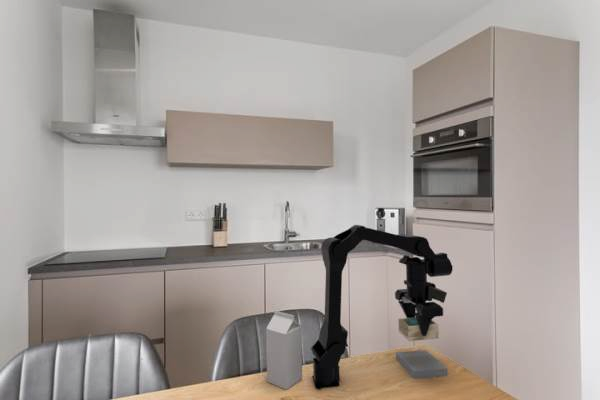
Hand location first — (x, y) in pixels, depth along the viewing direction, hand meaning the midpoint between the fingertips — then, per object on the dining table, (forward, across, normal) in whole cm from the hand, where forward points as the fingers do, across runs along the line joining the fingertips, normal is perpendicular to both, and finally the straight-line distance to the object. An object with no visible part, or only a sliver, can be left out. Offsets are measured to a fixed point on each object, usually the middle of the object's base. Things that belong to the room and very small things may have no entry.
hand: (418, 330), depth 101 cm
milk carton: (+11, 0, +40) cm, 41 cm away
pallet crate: (+1, 0, 0) cm, 1 cm away
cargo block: (0, 0, 0) cm, 0 cm away
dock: (+11, 0, -1) cm, 11 cm away
